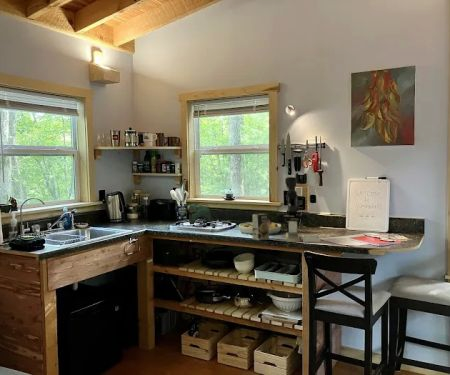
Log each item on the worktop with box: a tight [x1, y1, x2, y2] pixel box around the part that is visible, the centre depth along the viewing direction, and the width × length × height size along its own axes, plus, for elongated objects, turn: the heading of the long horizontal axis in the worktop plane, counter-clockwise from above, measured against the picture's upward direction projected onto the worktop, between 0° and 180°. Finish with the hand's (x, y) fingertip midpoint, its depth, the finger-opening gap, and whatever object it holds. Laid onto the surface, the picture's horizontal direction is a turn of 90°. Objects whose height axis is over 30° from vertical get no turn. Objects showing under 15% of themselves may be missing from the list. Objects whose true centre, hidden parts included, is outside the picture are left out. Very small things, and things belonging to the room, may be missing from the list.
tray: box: [301, 234, 322, 243], centre depth 261 cm, size 11×11×2 cm
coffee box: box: [252, 212, 270, 241], centre depth 267 cm, size 9×6×16 cm
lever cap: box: [288, 221, 298, 233], centre depth 262 cm, size 4×5×10 cm
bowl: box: [238, 219, 282, 235], centre depth 296 cm, size 30×30×8 cm
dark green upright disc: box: [187, 199, 213, 224], centre depth 327 cm, size 20×6×20 cm, turn 119°
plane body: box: [285, 232, 301, 243], centre depth 266 cm, size 19×8×8 cm, turn 173°
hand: (292, 228), depth 261 cm, fingers open, 9 cm apart
